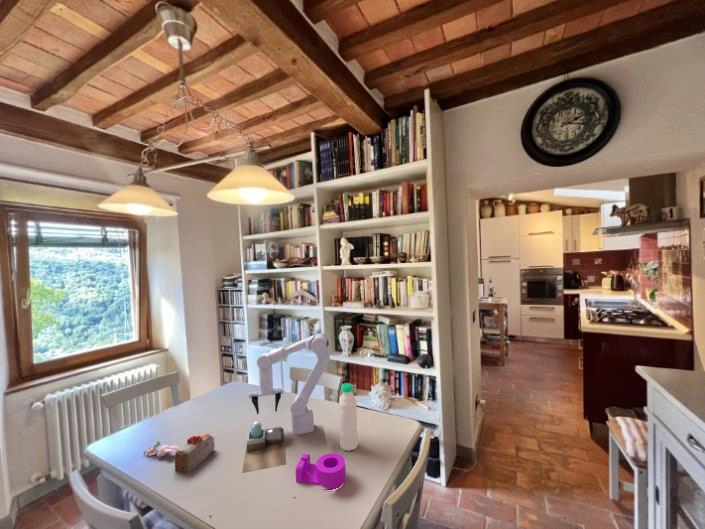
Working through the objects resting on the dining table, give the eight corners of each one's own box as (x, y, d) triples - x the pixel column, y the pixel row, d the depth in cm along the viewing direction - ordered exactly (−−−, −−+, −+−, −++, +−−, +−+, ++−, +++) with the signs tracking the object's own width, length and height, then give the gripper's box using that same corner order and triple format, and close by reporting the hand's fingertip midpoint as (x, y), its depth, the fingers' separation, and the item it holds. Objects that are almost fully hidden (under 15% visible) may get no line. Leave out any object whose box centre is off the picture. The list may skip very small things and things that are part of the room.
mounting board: (284, 436, 127) (284, 433, 127) (285, 467, 107) (285, 464, 107) (247, 443, 123) (247, 440, 123) (242, 476, 104) (242, 472, 104)
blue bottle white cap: (263, 435, 121) (262, 420, 121) (259, 442, 117) (258, 425, 117) (254, 435, 121) (253, 419, 121) (249, 441, 117) (249, 425, 117)
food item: (199, 450, 119) (198, 426, 119) (216, 452, 117) (215, 428, 117) (172, 474, 106) (171, 447, 106) (191, 477, 104) (190, 449, 104)
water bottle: (360, 443, 120) (358, 382, 120) (353, 453, 114) (351, 389, 114) (345, 439, 123) (343, 380, 123) (337, 449, 117) (335, 386, 117)
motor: (283, 435, 125) (283, 422, 125) (284, 445, 119) (283, 431, 118) (248, 442, 122) (247, 428, 122) (246, 452, 115) (246, 438, 115)
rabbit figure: (140, 461, 115) (171, 460, 112) (137, 446, 115) (169, 444, 112) (154, 451, 121) (184, 449, 118) (151, 437, 122) (182, 435, 118)
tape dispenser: (348, 472, 104) (348, 454, 104) (341, 493, 95) (341, 474, 95) (305, 467, 108) (305, 450, 108) (295, 487, 98) (294, 468, 98)
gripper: (282, 375, 135) (283, 405, 136) (249, 379, 132) (250, 410, 132) (283, 381, 129) (284, 412, 129) (248, 386, 125) (249, 417, 125)
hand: (267, 411), depth 130 cm, fingers open, 7 cm apart
